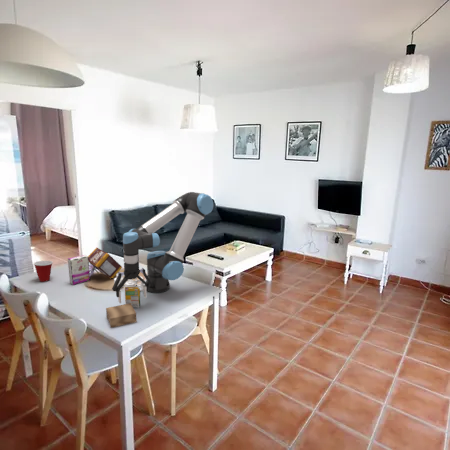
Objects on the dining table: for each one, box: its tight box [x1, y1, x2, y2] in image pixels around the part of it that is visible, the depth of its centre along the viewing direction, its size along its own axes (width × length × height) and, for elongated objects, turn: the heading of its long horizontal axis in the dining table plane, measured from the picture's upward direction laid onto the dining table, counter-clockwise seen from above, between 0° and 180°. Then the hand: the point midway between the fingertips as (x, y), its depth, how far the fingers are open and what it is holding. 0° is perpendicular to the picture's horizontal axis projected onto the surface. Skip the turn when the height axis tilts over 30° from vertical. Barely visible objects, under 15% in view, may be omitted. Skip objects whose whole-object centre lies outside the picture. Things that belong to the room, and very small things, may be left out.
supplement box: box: [87, 247, 123, 279], centre depth 208 cm, size 10×15×16 cm
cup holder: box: [113, 273, 145, 292], centre depth 193 cm, size 20×11×7 cm, turn 55°
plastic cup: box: [32, 260, 54, 283], centre depth 202 cm, size 11×11×12 cm
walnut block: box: [105, 303, 138, 328], centre depth 156 cm, size 12×12×5 cm
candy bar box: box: [67, 254, 91, 286], centre depth 200 cm, size 11×5×16 cm, turn 138°
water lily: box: [89, 263, 100, 278], centre depth 214 cm, size 15×15×9 cm
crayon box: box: [124, 286, 141, 308], centre depth 169 cm, size 7×3×12 cm, turn 92°
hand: (132, 299), depth 170 cm, fingers open, 13 cm apart
